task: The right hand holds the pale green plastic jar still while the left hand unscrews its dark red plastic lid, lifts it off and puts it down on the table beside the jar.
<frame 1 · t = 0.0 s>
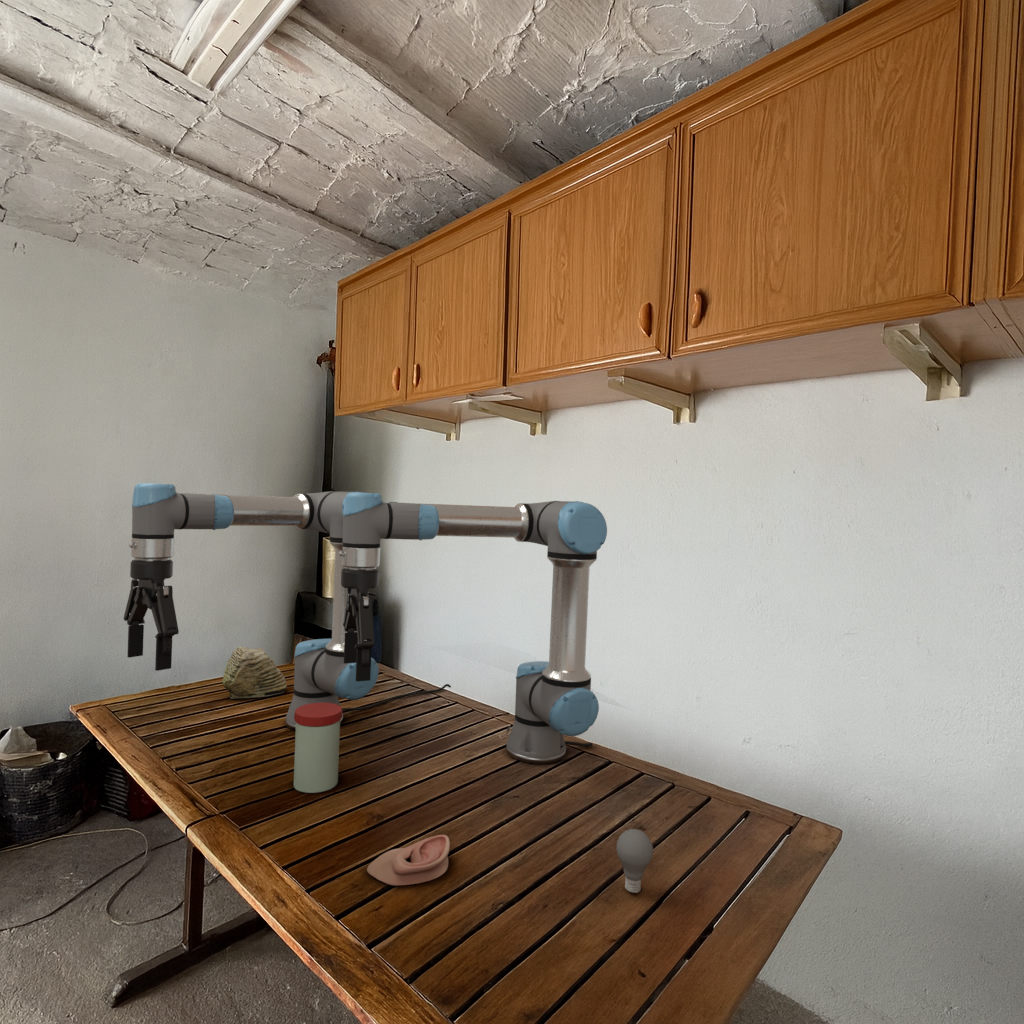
left hand: (148, 662, 129), 28 cm above the table, tool pointing down, fingers open, 13 cm apart
right hand: (356, 671, 130), 28 cm above the table, tool pointing down, fingers open, 13 cm apart
anatomical model: (408, 868, 110), on the table
light bulb: (632, 891, 106), on the table
fossil: (254, 694, 198), on the table
jar: (315, 783, 140), on the table
lid: (318, 711, 140), point 16 cm above the table, screwed on, not yet turned
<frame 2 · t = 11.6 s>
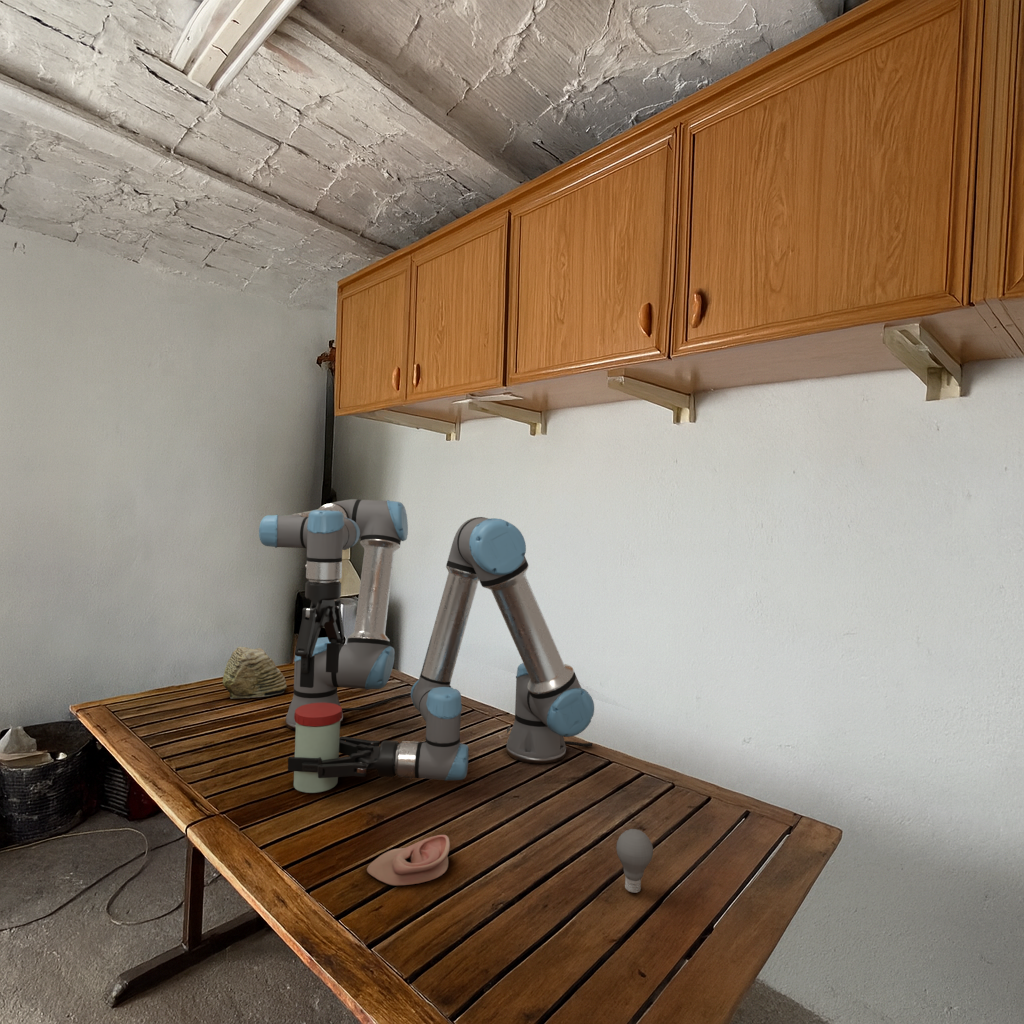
left hand: (319, 679, 140), 23 cm above the table, tool pointing down, fingers open, 11 cm apart
right hand: (296, 754, 140), 6 cm above the table, tool horizontal, fingers closed on jar, 9 cm apart
jar: (315, 783, 140), on the table, touching right hand
everything else where it was.
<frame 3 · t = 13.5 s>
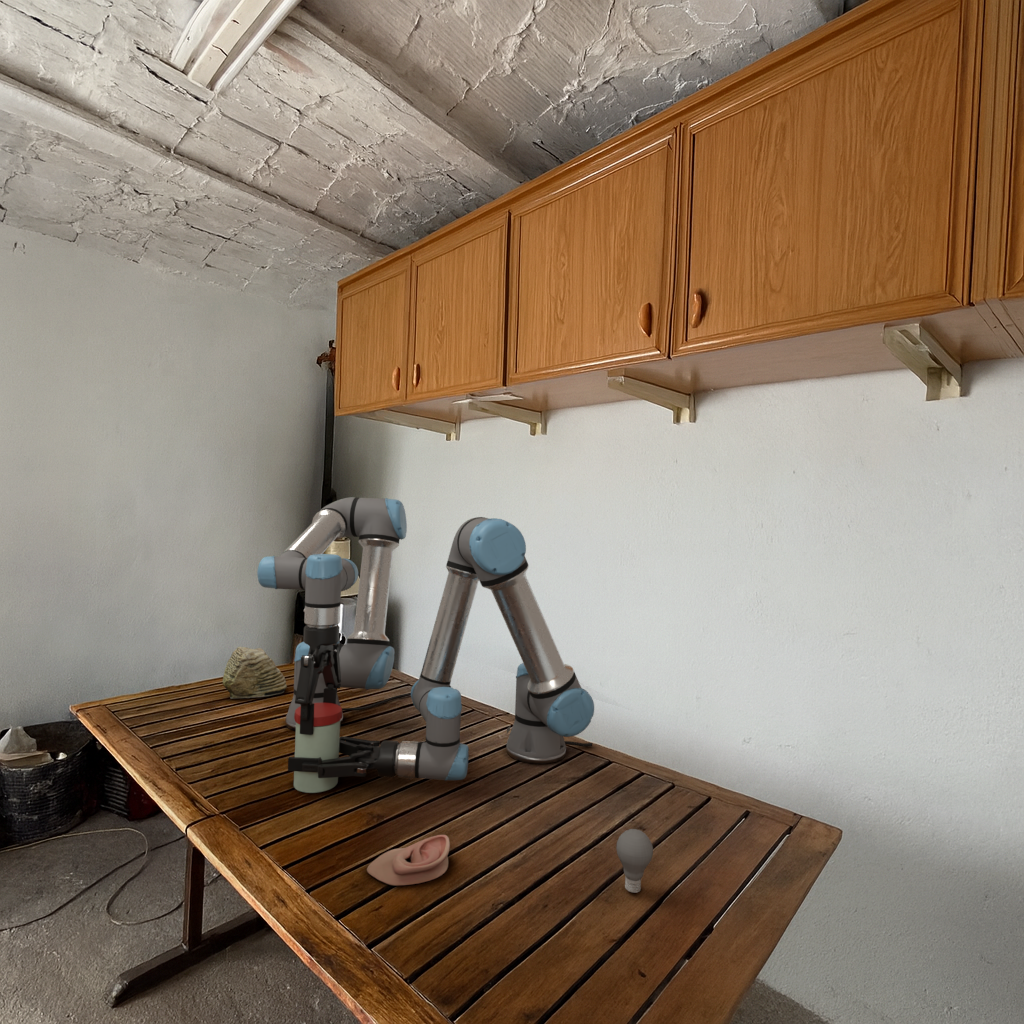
left hand: (318, 725, 140), 13 cm above the table, tool pointing down, fingers closed on lid, 10 cm apart
right hand: (296, 754, 140), 6 cm above the table, tool horizontal, fingers closed on jar, 9 cm apart
jar: (315, 783, 140), on the table, touching right hand
lid: (318, 711, 140), point 16 cm above the table, screwed on, not yet turned, touching left hand
everything else where it was.
when the left hand's fingers open (0 cm above the table, at t = 23.6 s): lid drops 2 cm, point 2 cm above the table.
when the right hand's fingers open (6 cm above the table, at t = 24.6 s): jar stays where it is, on the table.
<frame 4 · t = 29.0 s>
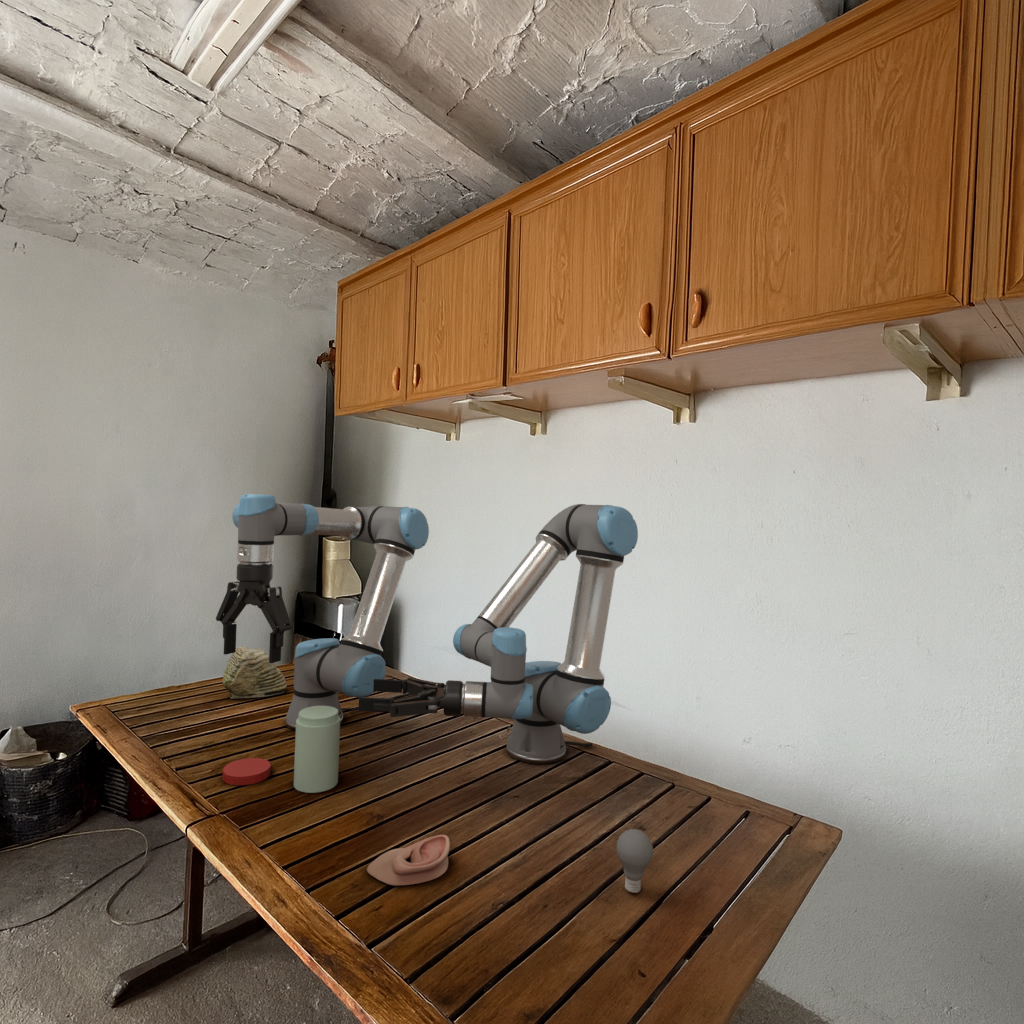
left hand: (251, 657, 142), 27 cm above the table, tool pointing down, fingers open, 13 cm apart
right hand: (366, 694, 140), 20 cm above the table, tool horizontal, fingers open, 13 cm apart
jar: (315, 783, 140), on the table
lid: (247, 768, 142), point 2 cm above the table, off its thread
everything else where it was.
at the end: lid came off its thread; lid point 1.6 cm above the table; the left hand is holding nothing; the right hand is holding nothing; jar tilted 0°; jar moved 0.0 cm from its start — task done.
